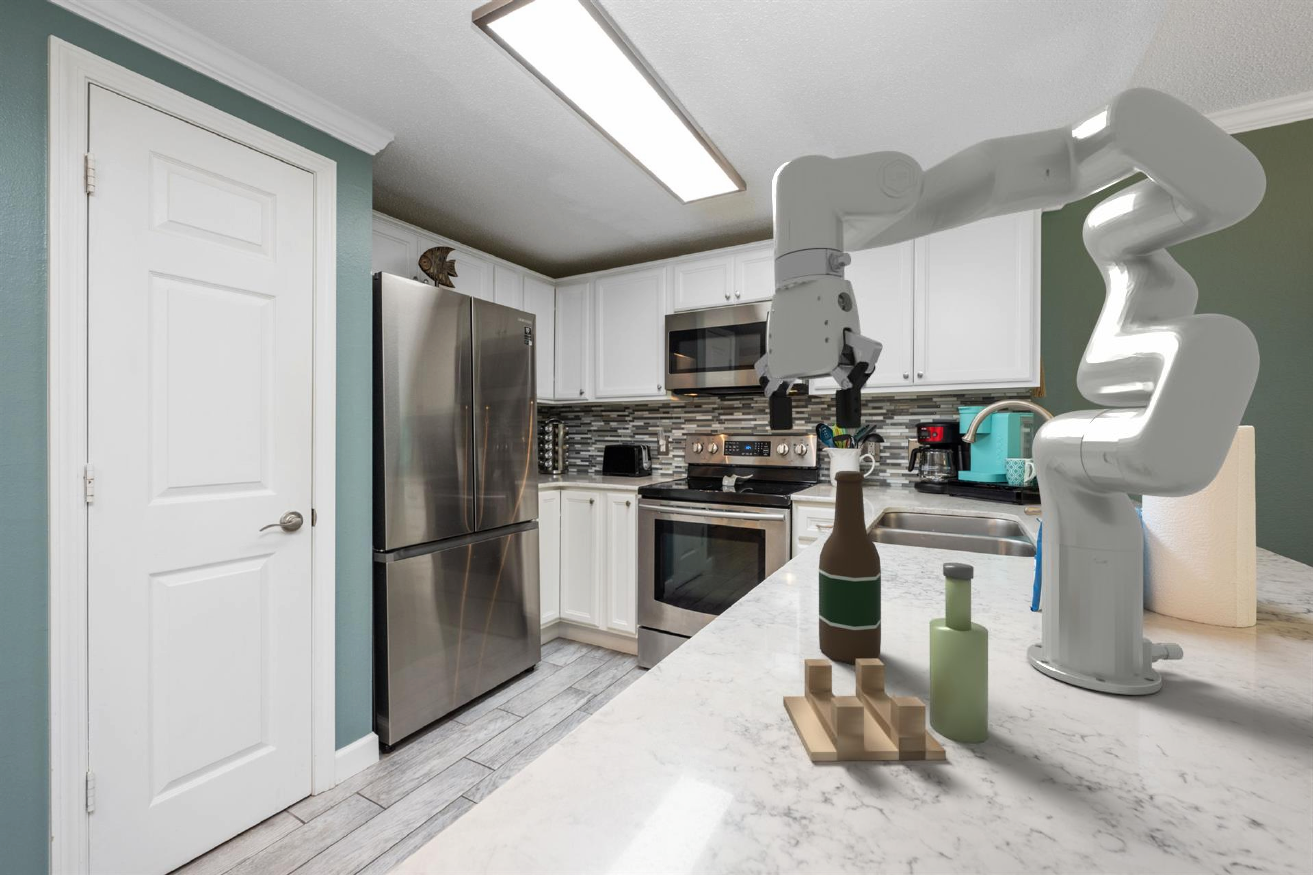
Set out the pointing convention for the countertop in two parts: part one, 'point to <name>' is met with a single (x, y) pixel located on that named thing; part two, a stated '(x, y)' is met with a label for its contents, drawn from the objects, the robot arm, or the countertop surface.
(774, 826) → the countertop surface
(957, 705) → the bottle
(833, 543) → the beer bottle
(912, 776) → the countertop surface
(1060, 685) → the countertop surface
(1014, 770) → the countertop surface
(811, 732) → the rest
